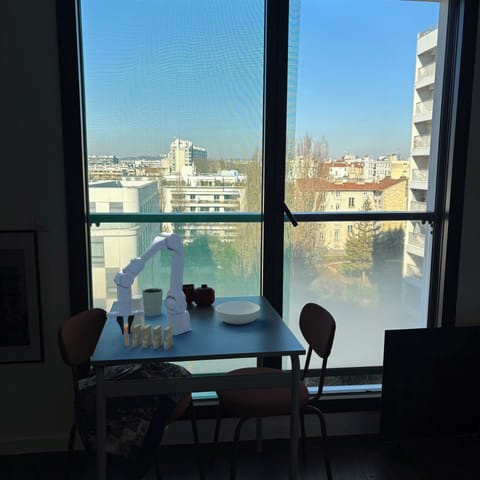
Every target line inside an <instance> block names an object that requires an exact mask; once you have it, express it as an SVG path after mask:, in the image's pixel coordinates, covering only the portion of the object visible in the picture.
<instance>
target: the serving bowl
mask: <svg viewBox="0 0 480 480" xmlns="http://www.w3.org/2000/svg"><path fill="white" fill-rule="evenodd" d="M260 312H261V307H260V305H259V304H256V303H253V302H249V301H227V302H223V303H220V304H218V305H216V306H215V313H216V316H217V318H218V319H219V320H220V321H222V322H224V323H227V324H231V325H244V324H249V323H252V322H254V321H255V320H256V319H257V318H258V317H259V315H260Z"/></svg>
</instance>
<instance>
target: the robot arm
mask: <svg viewBox="0 0 480 480" xmlns="http://www.w3.org/2000/svg"><path fill="white" fill-rule="evenodd" d="M182 241H183V240H182V237H181V236H180V235H179V234H177V233H172V232H166V231H162V232H160V233H158V235H157V236H155V237H154V239H153V241H152V242H151V243H150V244H149V245H148V247H147V248H146V249H145V250H144V251H143V253H142V254H141V255H140V256H139V257H135V258H131V259H130V260H129V263H128V264H127V265H126V266H125V267H124V268H122V269H121V270H122V271H119V272H117V273H116V274H115V276H114V279H113V282H114V283H115V285H116V296H117V297H116V298H117V310H116V311H107V312H106V319H111V318H116V322H117V325H119V328H120V331H121V333H122V336H124V324H125V322H124V320H125V319H124V318H125V317H127V324H128V334H129V335H131V332H132V331H131V325H132V323H133V320H134V317H135V316H144V317H145V315H144V310H132V294H133V293H132V286H133V285H134V283H135V279H136V278H137V276H138V275H140V274H141V272H142V271H143V270H144V269H145V268H146V263H148V261H149V260H150V259H152V258H153V257H154V255H156V253H158V252H159V251H164V250H167V251H168V252H169V253H170V254H171V262H170V275H169V276H170V278H169V290H168V291H167V292H166V296H165V298H164V302H163V305H164V307H165V308H166V310H167V326H172V336H178V335H181V334H183V333H186V332H190V331H192V328H191V316H190V313H189V311H188V310H187V307H188V302H187V301H186V300H187V299H186V294H185V293H184V291H183V285H184V284H183V283H184V269H185V268H184V267H185V248H184V246H183V242H182ZM130 331H131V332H130Z"/></svg>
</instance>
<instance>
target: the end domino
mask: <svg viewBox="0 0 480 480" xmlns="http://www.w3.org/2000/svg"><path fill="white" fill-rule="evenodd" d="M123 337H124V348H125V347H130V334H128V323H124V335H123Z"/></svg>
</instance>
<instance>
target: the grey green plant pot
mask: <svg viewBox="0 0 480 480" xmlns="http://www.w3.org/2000/svg"><path fill="white" fill-rule="evenodd" d="M163 293H164V290H163V289H162V288H157V287H154V288H145V289H143V290H142V291H141V295H143V308H144V317H157V316H160V315H162V313H163V312H162V309H163V308H162V307H163V296H164V294H163Z"/></svg>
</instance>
